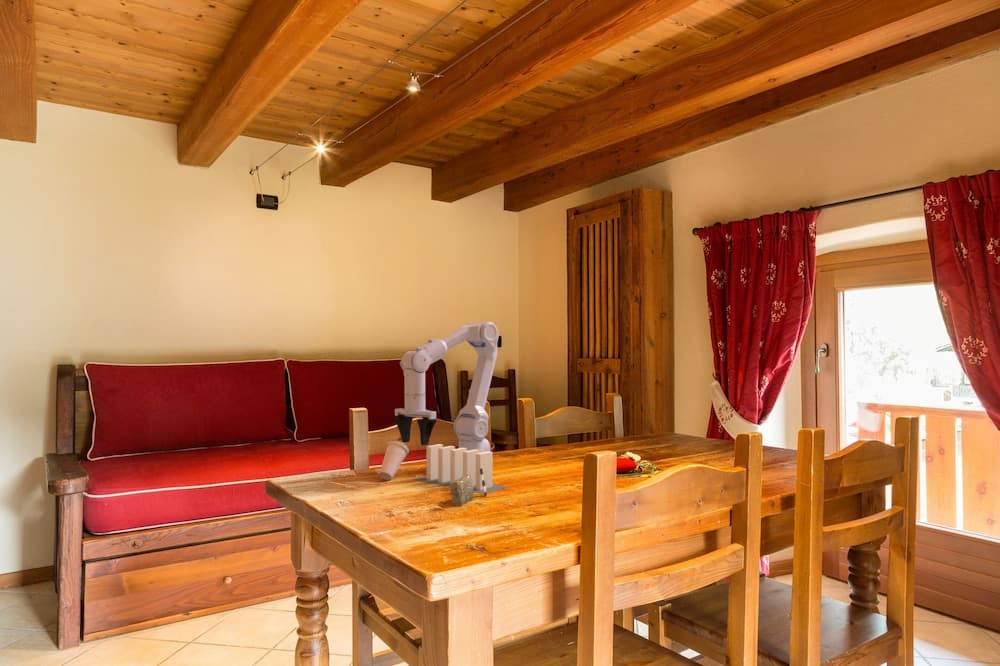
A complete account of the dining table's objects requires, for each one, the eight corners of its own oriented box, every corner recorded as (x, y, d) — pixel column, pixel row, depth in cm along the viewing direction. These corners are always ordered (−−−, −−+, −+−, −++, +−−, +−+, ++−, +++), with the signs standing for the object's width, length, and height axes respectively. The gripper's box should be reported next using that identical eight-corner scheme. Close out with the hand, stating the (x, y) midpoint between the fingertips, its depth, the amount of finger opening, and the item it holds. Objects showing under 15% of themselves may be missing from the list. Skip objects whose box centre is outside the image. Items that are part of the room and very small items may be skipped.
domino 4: (462, 486, 165) (462, 451, 165) (475, 483, 169) (475, 449, 169) (467, 487, 164) (467, 452, 164) (479, 484, 168) (479, 450, 168)
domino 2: (438, 481, 171) (438, 448, 171) (450, 478, 175) (450, 445, 175) (442, 482, 170) (442, 448, 170) (454, 479, 174) (454, 446, 174)
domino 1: (426, 479, 174) (426, 446, 174) (438, 476, 178) (438, 444, 178) (430, 480, 173) (430, 446, 173) (443, 477, 177) (443, 444, 177)
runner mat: (437, 474, 182) (437, 473, 182) (508, 488, 165) (508, 486, 165) (411, 480, 174) (411, 479, 174) (483, 495, 157) (483, 493, 157)
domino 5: (475, 489, 162) (475, 453, 163) (487, 485, 166) (487, 451, 166) (480, 489, 161) (480, 454, 162) (492, 486, 165) (492, 451, 165)
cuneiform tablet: (487, 497, 156) (470, 508, 145) (470, 499, 158) (452, 511, 146) (482, 468, 157) (464, 477, 145) (465, 470, 158) (447, 480, 147)
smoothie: (396, 472, 170) (414, 431, 180) (373, 466, 171) (392, 425, 180) (397, 485, 174) (414, 444, 184) (375, 479, 175) (393, 439, 185)
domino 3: (450, 484, 168) (450, 449, 168) (462, 480, 172) (462, 447, 172) (454, 484, 167) (454, 450, 167) (466, 481, 171) (466, 448, 171)
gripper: (386, 394, 178) (386, 442, 178) (422, 396, 169) (423, 448, 169) (405, 392, 183) (405, 439, 183) (441, 394, 174) (441, 444, 174)
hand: (415, 443), depth 176 cm, fingers open, 7 cm apart
